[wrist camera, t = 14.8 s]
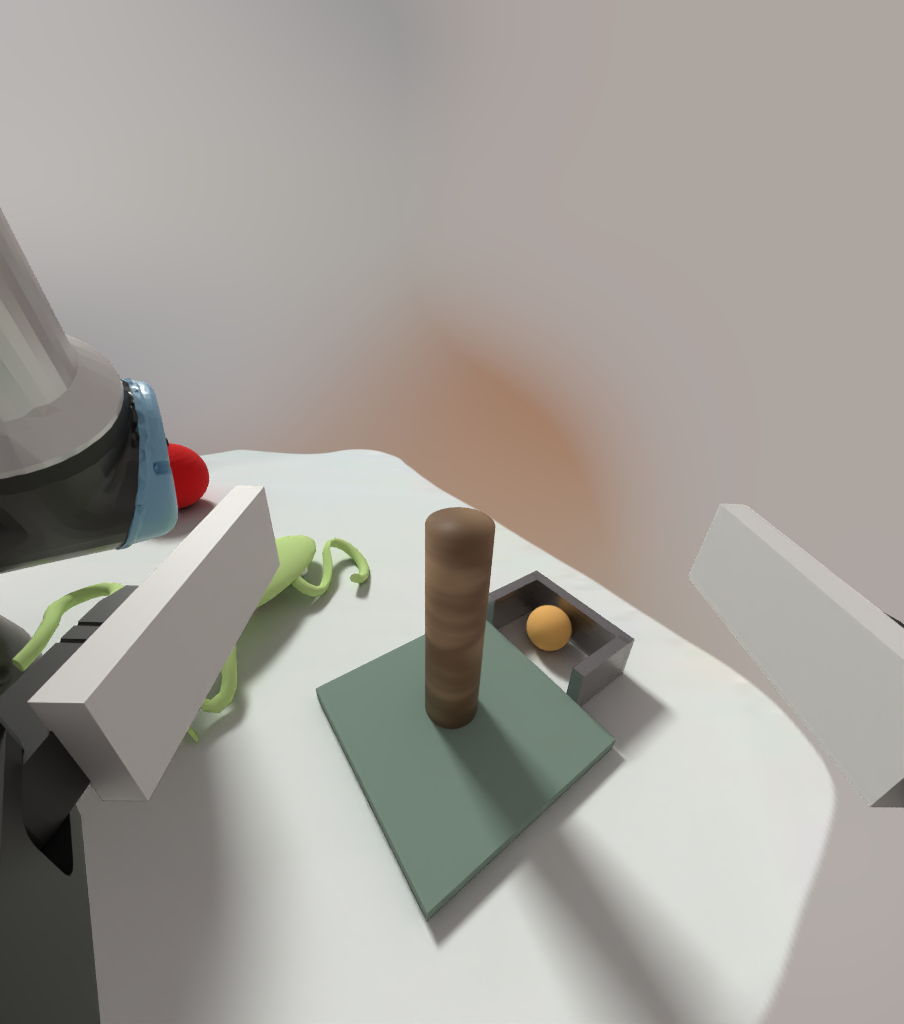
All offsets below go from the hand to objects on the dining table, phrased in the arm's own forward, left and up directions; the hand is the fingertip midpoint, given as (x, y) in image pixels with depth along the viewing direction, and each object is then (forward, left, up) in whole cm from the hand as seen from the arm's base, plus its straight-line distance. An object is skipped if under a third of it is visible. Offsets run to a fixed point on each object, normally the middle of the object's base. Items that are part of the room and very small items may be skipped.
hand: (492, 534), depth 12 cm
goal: (+16, +8, -22) cm, 29 cm away
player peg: (+5, +8, -21) cm, 24 cm away
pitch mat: (+5, +7, -22) cm, 24 cm away
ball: (+17, +9, -20) cm, 28 cm away
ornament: (-8, +56, -23) cm, 61 cm away
